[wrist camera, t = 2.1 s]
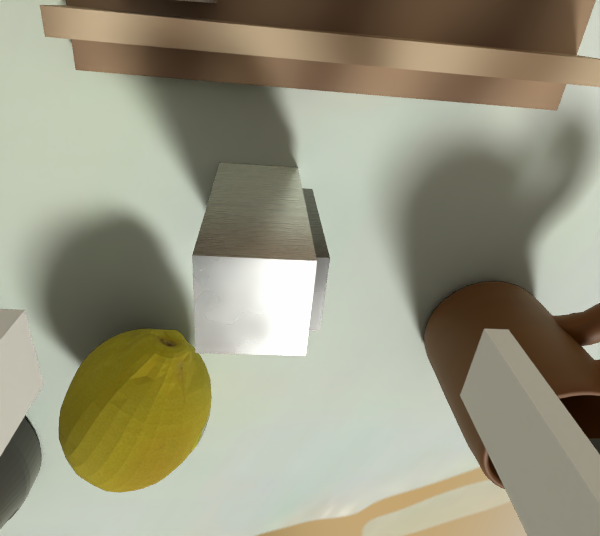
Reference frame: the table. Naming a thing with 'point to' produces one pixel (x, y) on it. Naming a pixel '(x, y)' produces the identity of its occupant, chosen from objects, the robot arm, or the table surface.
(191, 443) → the lemon
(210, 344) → the block
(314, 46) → the rail
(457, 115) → the table surface
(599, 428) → the mug
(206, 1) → the finger
